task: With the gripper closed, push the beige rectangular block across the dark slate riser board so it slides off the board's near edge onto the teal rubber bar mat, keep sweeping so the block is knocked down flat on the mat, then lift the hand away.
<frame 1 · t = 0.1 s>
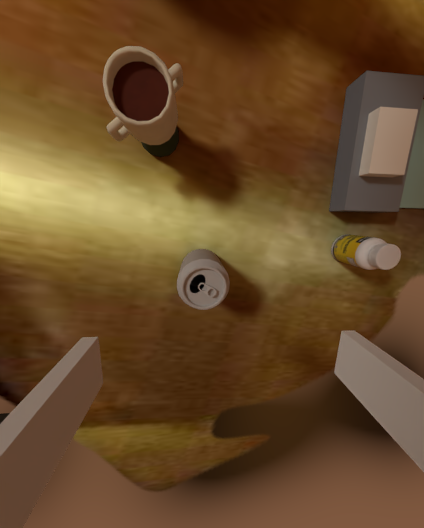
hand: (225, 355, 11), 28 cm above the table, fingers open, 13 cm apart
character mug: (160, 137, 33), on the table
can: (201, 267, 39), on the table
supplement bottle: (342, 248, 40), on the table
beige rectangular block: (381, 146, 32), point 4 cm above the table, touching riser board
riser board: (363, 154, 36), on the table
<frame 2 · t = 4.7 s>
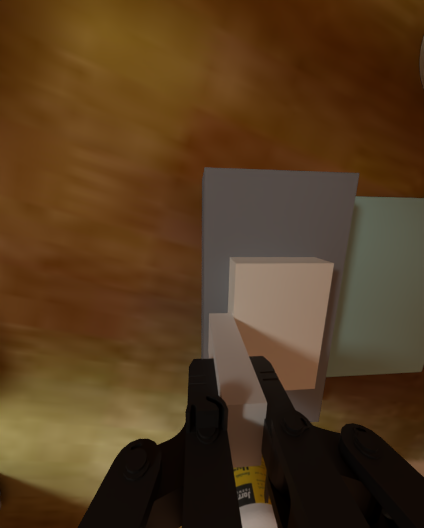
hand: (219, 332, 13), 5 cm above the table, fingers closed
bar mat: (375, 294, 20), on the table
supplement bottle: (236, 438, 23), on the table
beige rectangular block: (268, 317, 15), point 4 cm above the table, touching gripper, riser board
riser board: (255, 296, 19), on the table
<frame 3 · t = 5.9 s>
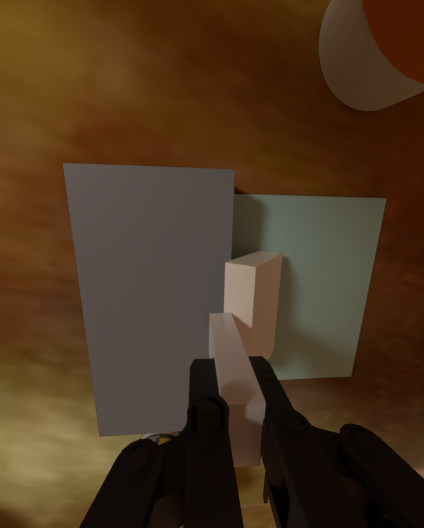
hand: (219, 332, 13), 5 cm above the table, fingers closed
bar mat: (295, 296, 19), on the table
beige rectangular block: (242, 311, 16), point 3 cm above the table, tilted 52°, touching bar mat, gripper
reusable coffee cup: (373, 45, 15), on the table
riser board: (166, 298, 18), on the table
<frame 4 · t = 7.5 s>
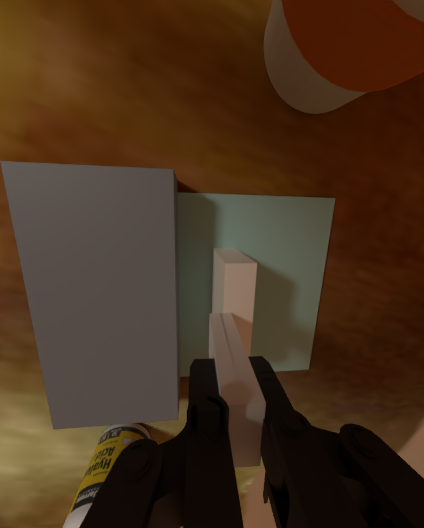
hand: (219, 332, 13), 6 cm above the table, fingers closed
bar mat: (251, 292, 20), on the table
supplement bottle: (126, 436, 23), on the table
beige rectangular block: (216, 309, 16), point 3 cm above the table, tilted 91°, touching bar mat, gripper
reusable coffee cup: (318, 50, 16), on the table
riser board: (123, 294, 19), on the table
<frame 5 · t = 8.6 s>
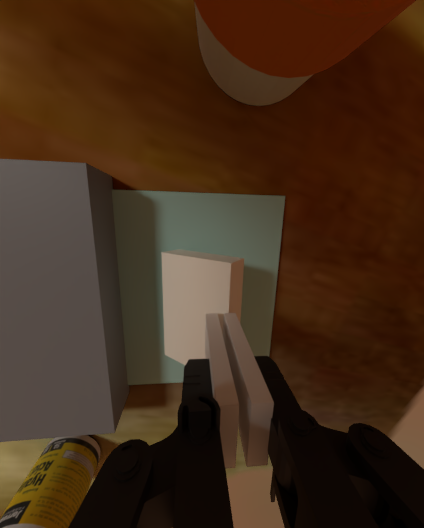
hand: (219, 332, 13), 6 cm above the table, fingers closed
bar mat: (200, 296, 19), on the table
supplement bottle: (75, 448, 21), on the table
beige rectangular block: (192, 316, 15), point 4 cm above the table, tilted 142°, touching bar mat, gripper
reusable coffee cup: (258, 37, 15), on the table
riser board: (61, 298, 17), on the table
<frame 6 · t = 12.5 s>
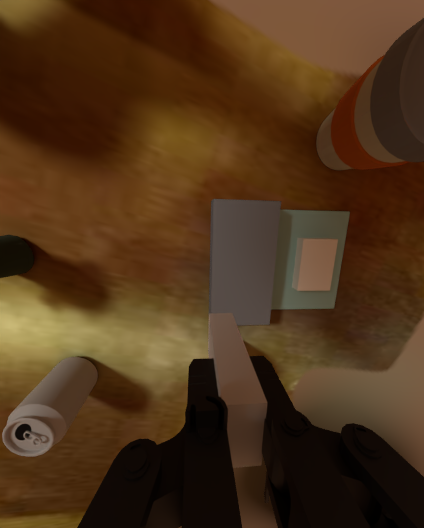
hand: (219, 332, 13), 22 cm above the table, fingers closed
bar mat: (303, 262, 36), on the table
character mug: (17, 254, 32), on the table
can: (79, 370, 38), on the table
beige rectangular block: (317, 265, 34), point 2 cm above the table, tilted 180°, touching bar mat
reusable coffee cup: (341, 141, 33), on the table
riser board: (238, 261, 35), on the table
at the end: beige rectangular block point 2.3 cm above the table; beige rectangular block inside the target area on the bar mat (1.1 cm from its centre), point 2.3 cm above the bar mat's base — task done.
